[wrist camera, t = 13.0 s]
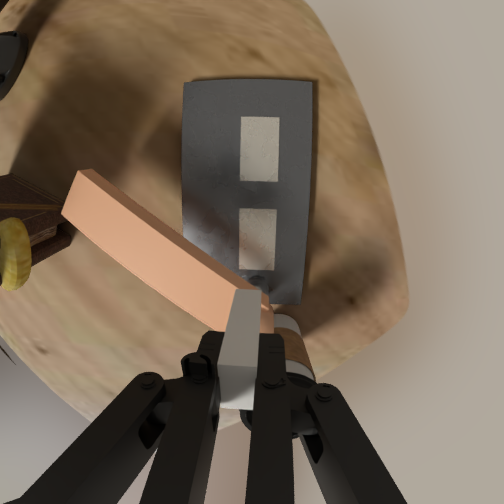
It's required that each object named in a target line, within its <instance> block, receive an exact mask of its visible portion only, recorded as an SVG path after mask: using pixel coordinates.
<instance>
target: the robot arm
mask: <svg viewBox="0 0 504 504" xmlns="http://www.w3.org/2000/svg"><path fill="white" fill-rule="evenodd" d="M8 1H9V0H0V12H1V11H2V9H3V8H4V6H5V5H6V4H7V3H8ZM27 47H28V38H27V35H26V34H25V33H22V32H19V31H8V32H1V33H0V100H2V99H3V98H4V96H5V95H6V94H7V93H8V91H9V90H10V88H11V87H12V85H13V83H14V82H15V80H16V78H17V76H18V74H19V72H20V69H21V67H22V65H23V62H24V59H25V56H26V52H27ZM260 315H261V290H249V289H236V290H235V294H234V298H233V302H232V306H231V310H230V314H229V318H228V322H227V326H226V330H225V332H222V331H208V332H206V333H205V334H204V335H203V336H202V339H201V341H200V344H199V347H198V350H197V352H194V353H190V354H187V355H186V356H184V357H183V358H182V360H181V365H182V371H183V377H180V378H177V379H168V380H164V379H163V378H162V377H161V375H159V374H157V373H154V372H144V373H141V374H139V375H137V376H136V377H135V378H134V379H133V380H132V381H131V382H130V383H129V384H128V385H127V386H126V387H125V388H124V389H123V391H122V392H121V393H120V394H119V395H118V396H117V397H116V398H115V399H114V400H113V401H112V402H111V403H110V404H109V405H108V406H107V407H106V408H105V409H104V410H103V412H102V413H101V414H100V415H99V416H98V417H97V418H96V419H95V420H94V421H93V422H92V423H91V424H90V425H89V426H88V427H87V428H86V429H85V430H84V431H83V433H82V434H81V435H80V436H79V437H78V438H77V439H76V440H75V441H74V442H73V443H72V444H71V445H70V446H69V447H68V448H67V449H66V450H65V451H64V452H63V454H62V455H61V456H60V457H59V458H58V459H57V460H56V461H55V462H54V463H53V464H52V465H51V466H50V467H49V468H48V469H47V470H46V471H45V472H44V474H42V476H41V477H40V478H39V479H38V480H37V481H36V482H35V483H34V484H33V485H32V486H31V487H30V488H29V489H28V490H27V491H26V492H25V493H24V495H22V496H21V497H20V498H18V499H15V500H13V501H10V502H7V503H4V504H117V503H118V501H119V500H120V499H121V497H122V496H123V495H124V493H125V492H126V491H127V489H128V488H129V487H130V485H131V484H132V483H133V481H134V480H135V478H136V477H137V476H138V474H139V473H140V472H141V470H142V469H143V467H144V466H145V465H146V463H147V462H148V460H149V459H150V458H151V456H152V455H153V453H154V452H155V451H156V449H157V448H158V449H157V452H156V454H155V457H154V461H153V464H152V466H151V470H150V472H149V475H148V478H147V481H146V485H145V488H144V490H143V493H142V497H141V500H140V503H139V504H204V500H205V494H206V489H207V483H208V478H209V472H210V466H211V461H212V456H213V450H214V445H215V439H216V434H217V428H218V423H219V407H220V404H221V408H231V409H244V410H253V415H252V428H251V440H250V452H249V465H248V476H247V487H246V498H245V504H294V472H293V446H292V432H295V433H298V435H299V437H300V440H301V442H302V445H303V447H304V450H305V452H306V455H307V457H308V460H309V462H310V464H311V467H312V470H313V472H314V475H315V477H316V479H317V482H318V484H319V487H320V489H321V492H322V494H323V496H324V499H325V501H326V503H327V504H407V502H406V501H405V499H404V497H403V495H402V494H401V492H400V490H399V489H398V487H397V485H396V484H395V482H394V481H393V479H392V477H391V475H390V474H389V472H388V470H387V469H386V467H385V465H384V464H383V462H382V460H381V459H380V457H379V455H378V454H377V452H376V450H375V449H374V447H373V445H372V444H371V442H370V440H369V439H368V437H367V436H366V434H365V432H364V430H363V429H362V427H361V426H360V424H359V422H358V420H357V419H356V417H355V416H354V414H353V412H352V410H351V409H350V407H349V406H348V404H347V402H346V401H345V399H344V397H343V396H342V394H341V392H340V391H339V390H338V389H337V388H336V387H334V386H333V385H331V384H326V383H319V384H316V385H313V386H312V387H311V388H309V389H307V388H302V387H299V386H296V385H294V384H293V383H292V382H290V381H289V379H288V378H287V374H286V359H285V345H284V339H283V338H282V336H281V335H280V334H274V333H260Z"/></svg>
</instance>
